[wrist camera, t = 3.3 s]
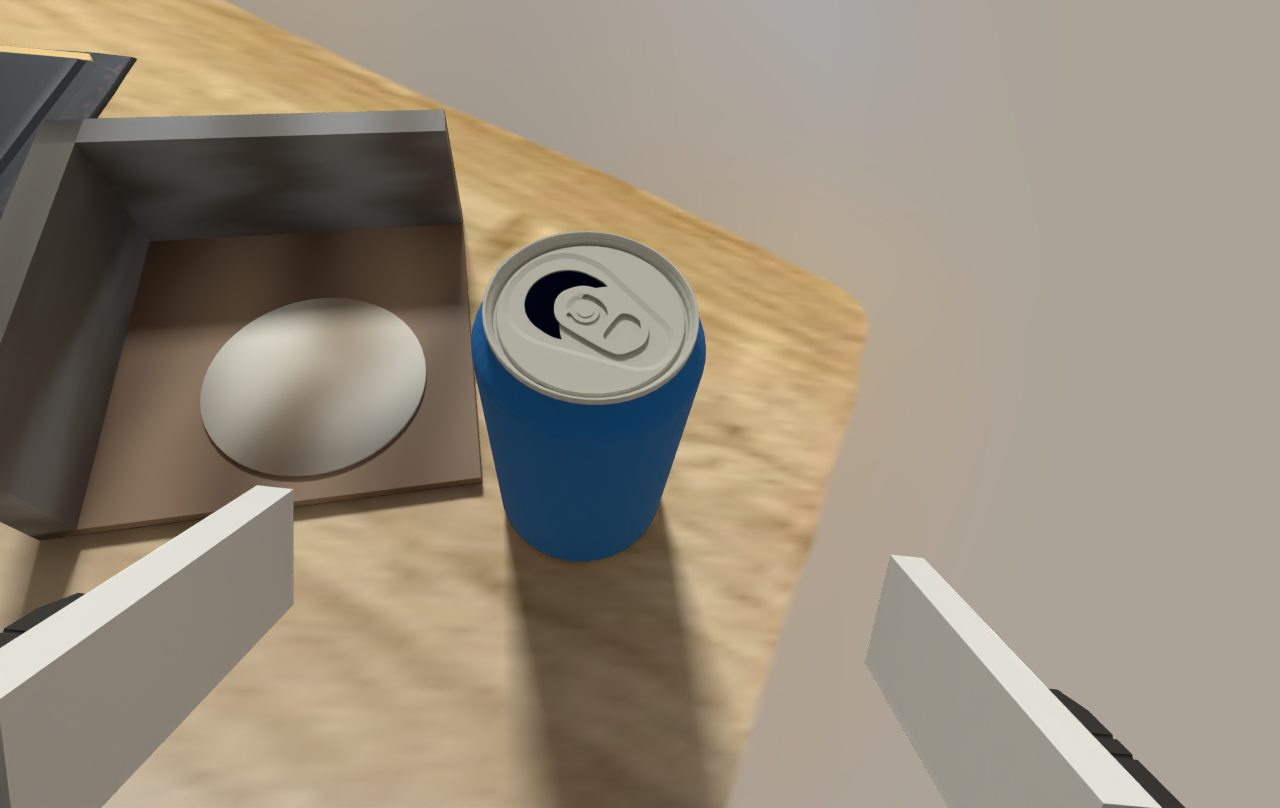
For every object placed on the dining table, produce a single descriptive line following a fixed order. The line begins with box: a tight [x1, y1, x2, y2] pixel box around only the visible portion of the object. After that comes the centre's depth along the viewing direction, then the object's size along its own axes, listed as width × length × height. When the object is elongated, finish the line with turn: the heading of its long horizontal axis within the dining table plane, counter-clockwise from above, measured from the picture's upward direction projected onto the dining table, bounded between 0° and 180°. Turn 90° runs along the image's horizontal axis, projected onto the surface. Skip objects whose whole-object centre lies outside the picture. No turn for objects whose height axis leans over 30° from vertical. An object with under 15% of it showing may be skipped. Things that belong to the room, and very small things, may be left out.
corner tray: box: [0, 110, 482, 540], centre depth 27 cm, size 16×16×6 cm
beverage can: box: [471, 231, 706, 562], centre depth 22 cm, size 6×6×12 cm
